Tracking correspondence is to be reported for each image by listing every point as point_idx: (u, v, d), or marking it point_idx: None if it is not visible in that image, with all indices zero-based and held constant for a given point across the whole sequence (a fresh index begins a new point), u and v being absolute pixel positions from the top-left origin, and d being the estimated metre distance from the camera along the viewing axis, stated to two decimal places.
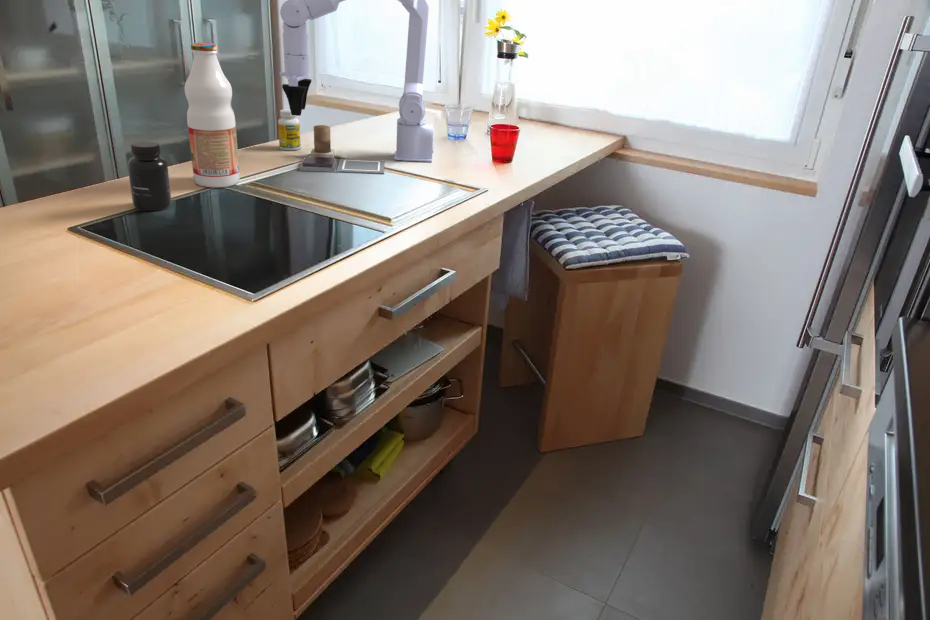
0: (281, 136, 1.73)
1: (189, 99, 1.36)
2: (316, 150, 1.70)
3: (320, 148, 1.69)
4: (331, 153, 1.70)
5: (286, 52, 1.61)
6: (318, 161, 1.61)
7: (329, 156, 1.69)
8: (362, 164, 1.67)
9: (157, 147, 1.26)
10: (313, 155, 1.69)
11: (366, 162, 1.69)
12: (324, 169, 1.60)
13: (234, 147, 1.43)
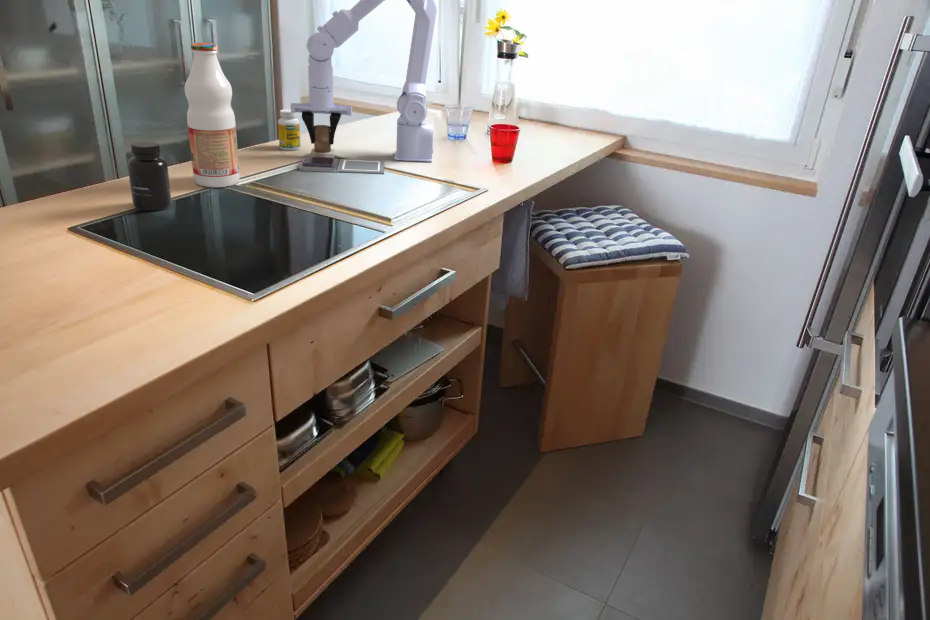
0: (281, 136, 1.73)
1: (189, 99, 1.36)
2: (316, 150, 1.69)
3: (320, 148, 1.69)
4: (331, 153, 1.70)
5: (312, 85, 1.62)
6: (318, 161, 1.61)
7: (329, 156, 1.69)
8: (362, 164, 1.67)
9: (157, 147, 1.26)
10: (313, 155, 1.69)
11: (366, 162, 1.69)
12: (324, 169, 1.60)
13: (234, 147, 1.43)
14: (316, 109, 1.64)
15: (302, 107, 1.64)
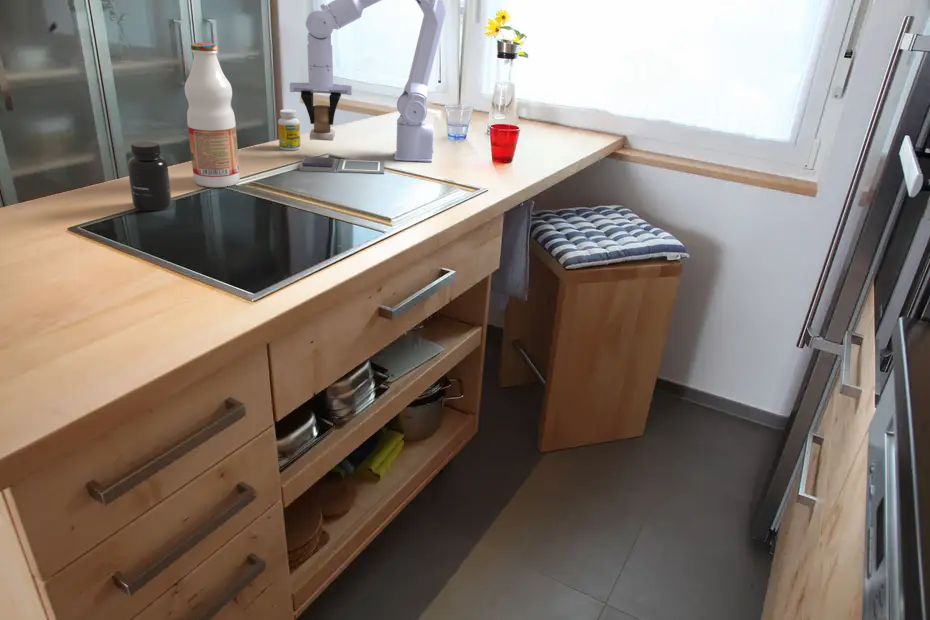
0: (281, 136, 1.73)
1: (189, 99, 1.36)
2: (316, 130, 1.67)
3: (319, 128, 1.67)
4: (331, 133, 1.68)
5: (312, 64, 1.60)
6: (318, 161, 1.61)
7: (329, 136, 1.67)
8: (362, 164, 1.67)
9: (157, 147, 1.26)
10: (313, 135, 1.67)
11: (366, 162, 1.69)
12: (324, 169, 1.60)
13: (234, 147, 1.43)
14: (315, 88, 1.61)
15: (301, 86, 1.62)
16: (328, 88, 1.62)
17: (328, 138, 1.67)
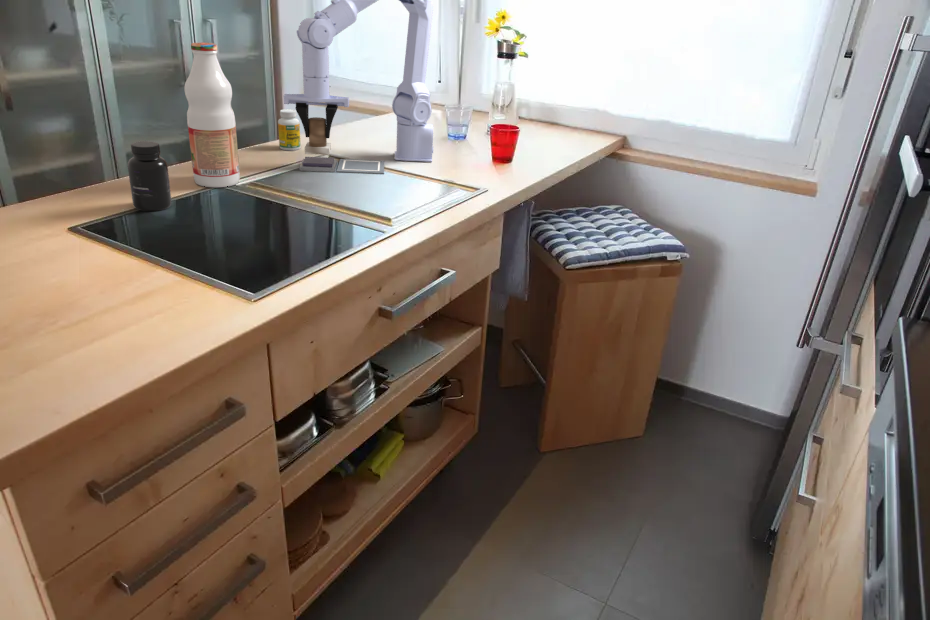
0: (281, 136, 1.73)
1: (189, 99, 1.36)
2: (311, 144, 1.59)
3: (315, 142, 1.58)
4: (327, 147, 1.59)
5: (311, 75, 1.51)
6: (318, 161, 1.61)
7: (325, 150, 1.59)
8: (362, 164, 1.67)
9: (157, 147, 1.26)
10: (308, 149, 1.58)
11: (366, 162, 1.69)
12: (324, 169, 1.60)
13: (234, 147, 1.43)
14: (311, 100, 1.53)
15: (296, 98, 1.54)
16: (324, 100, 1.54)
17: (324, 152, 1.59)
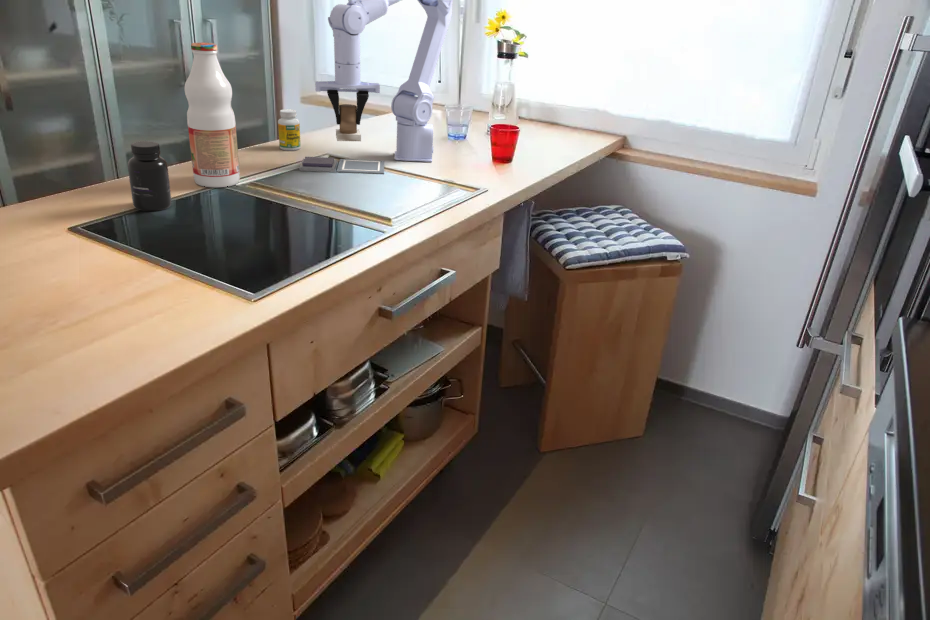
0: (281, 136, 1.73)
1: (189, 99, 1.36)
2: (342, 131, 1.59)
3: (347, 129, 1.59)
4: (358, 134, 1.60)
5: (345, 62, 1.51)
6: (318, 161, 1.61)
7: (357, 137, 1.59)
8: (362, 164, 1.67)
9: (157, 147, 1.26)
10: (340, 136, 1.59)
11: (366, 162, 1.69)
12: (324, 169, 1.60)
13: (234, 147, 1.43)
14: (344, 87, 1.54)
15: (328, 85, 1.54)
16: (357, 86, 1.55)
17: (356, 139, 1.60)
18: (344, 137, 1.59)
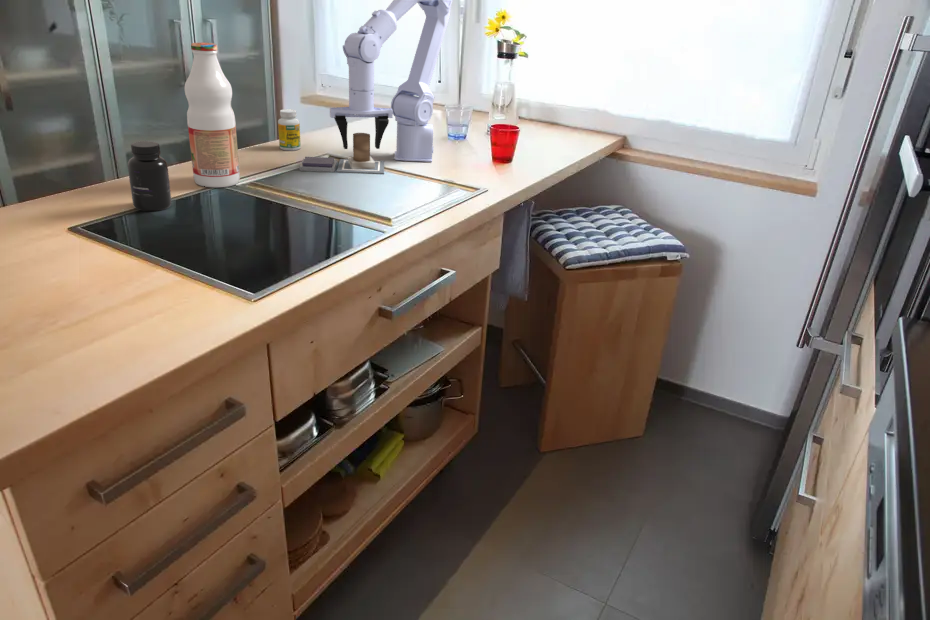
0: (281, 136, 1.73)
1: (189, 99, 1.36)
2: (357, 159, 1.63)
3: (361, 157, 1.63)
4: (372, 161, 1.64)
5: (360, 89, 1.55)
6: (318, 161, 1.61)
7: (371, 164, 1.63)
8: None
9: (157, 147, 1.26)
10: (355, 164, 1.62)
11: None
12: (324, 169, 1.60)
13: (234, 147, 1.43)
14: (359, 113, 1.57)
15: (343, 111, 1.57)
16: (371, 112, 1.58)
17: (370, 166, 1.64)
18: (359, 165, 1.63)
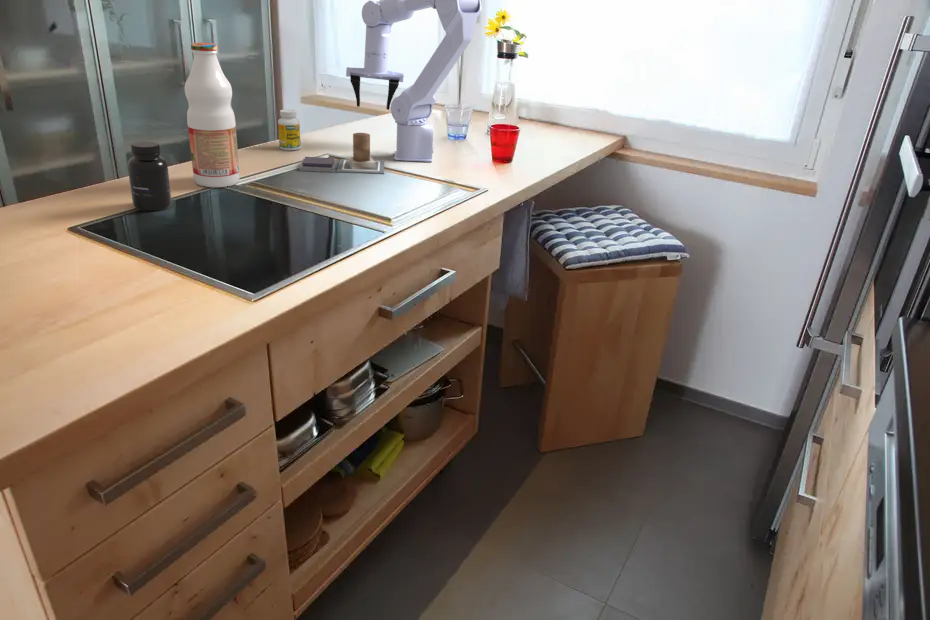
0: (281, 136, 1.73)
1: (189, 99, 1.36)
2: (357, 159, 1.63)
3: (361, 157, 1.63)
4: (372, 161, 1.64)
5: (365, 49, 1.72)
6: (318, 161, 1.61)
7: (371, 164, 1.63)
8: None
9: (157, 147, 1.26)
10: (355, 164, 1.62)
11: None
12: (324, 169, 1.60)
13: (234, 147, 1.43)
14: (371, 74, 1.72)
15: (357, 72, 1.73)
16: (383, 75, 1.73)
17: (370, 166, 1.64)
18: (359, 165, 1.63)
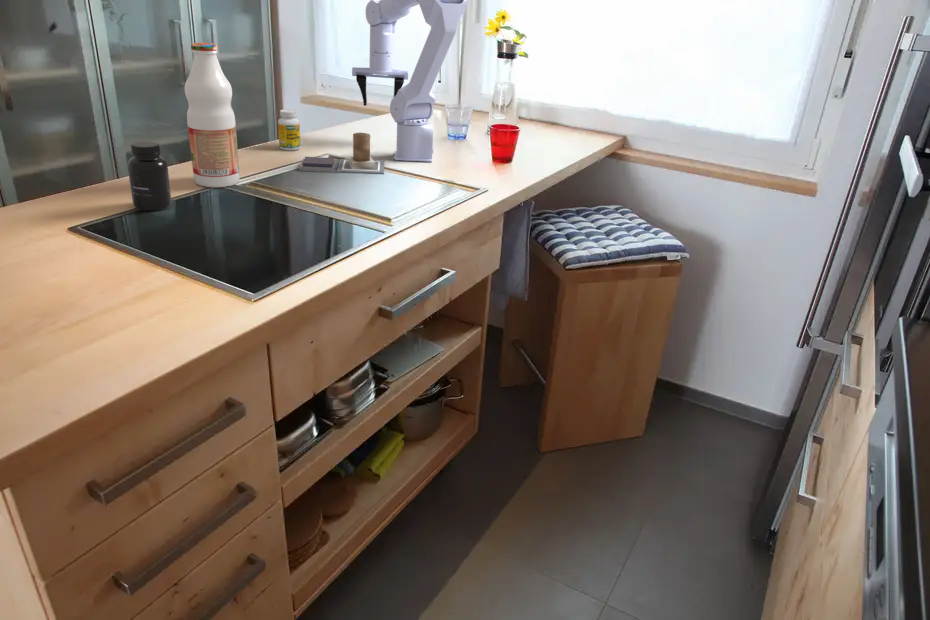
0: (281, 136, 1.73)
1: (189, 99, 1.36)
2: (357, 159, 1.63)
3: (361, 157, 1.63)
4: (372, 161, 1.64)
5: None
6: (318, 161, 1.61)
7: (371, 164, 1.63)
8: None
9: (157, 147, 1.26)
10: (355, 164, 1.62)
11: None
12: (324, 169, 1.60)
13: (234, 147, 1.43)
14: (376, 73, 1.76)
15: (363, 71, 1.76)
16: (387, 73, 1.76)
17: (370, 166, 1.64)
18: (359, 165, 1.63)
